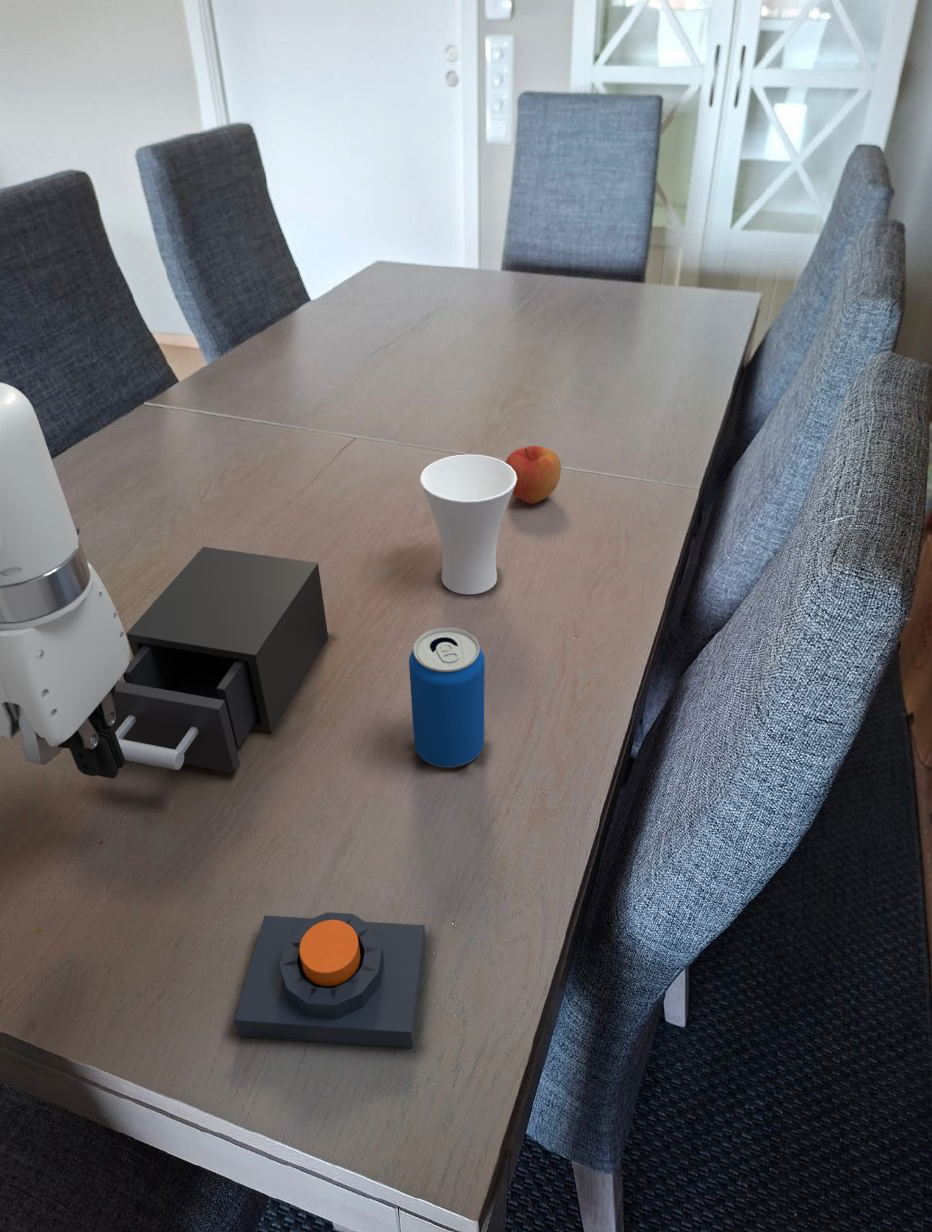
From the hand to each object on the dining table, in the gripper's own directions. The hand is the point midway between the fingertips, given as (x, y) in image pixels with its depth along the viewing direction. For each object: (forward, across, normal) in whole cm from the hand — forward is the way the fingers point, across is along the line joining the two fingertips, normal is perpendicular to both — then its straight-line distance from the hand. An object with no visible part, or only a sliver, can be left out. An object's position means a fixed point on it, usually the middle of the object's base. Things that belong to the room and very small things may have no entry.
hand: (103, 767), depth 68 cm
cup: (+10, -43, +18) cm, 48 cm away
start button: (+5, +8, +21) cm, 23 cm away
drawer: (+8, -13, 0) cm, 15 cm away
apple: (+10, -63, +22) cm, 67 cm away
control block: (+9, +8, +21) cm, 25 cm away
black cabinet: (+9, -22, 0) cm, 23 cm away
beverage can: (+9, -16, +23) cm, 30 cm away
